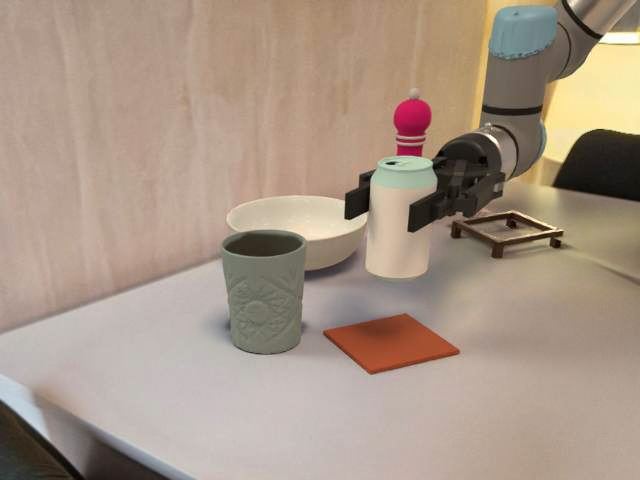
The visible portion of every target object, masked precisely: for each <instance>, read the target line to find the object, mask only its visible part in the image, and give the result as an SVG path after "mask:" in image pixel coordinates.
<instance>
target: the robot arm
mask: <svg viewBox="0 0 640 480" xmlns="http://www.w3.org/2000/svg"><path fill="white" fill-rule="evenodd" d="M637 1H638V0H557V1H556V2H555V3H554V5H552V6H551V5H544V4H543V5H541V4H538V5H537V4H526V5H525V4H524V5H521V4H520V5H512V6H511V5H510V6H505V7H502V8H500V9H499V10H497V12H496V13H495V15H494V18H493V22H492V27H491V32H490V37H489V39H488V43H487V48H488V54H487V61H486V69H485V78H484V85H483V87H484V88H483V94H482V103H481V108H480V109H481V110H480V117H479V125H478V128H476V129H474V130H472V131H469V132H467V133H464V134H462V135H460V136H457V137H455V138H453V139H450V140H448V141H447V142H445V143H444V145H442V146H441V148H440V149H439V150H438V152H437V153H436V155H435V156H434V157H433V158H432V159H430V160H431V161H432V162H433V166H432V169H433V171H434V173H435V175H436V177H437V188H436V191H435V192H434V193H432V194H430V195H428V196H426V197H424V198H422V199H420V200H418V201H416V202H414V203H412V204H410V207H409V217H408V228H407V232H411V233H414V232H416V231H418V230H420V229H421V228H423V227H425V226H427V225H428V224H430V223H432V222H433V223H434V222H436V221H437V220H442V219H444V218H446V217H455V216H456V215H457V213H462V214H461V216H462V217H463V218H465V219H466V218H472V217H475V216H476V215H477V214H479V212H480V211H482V209H484V208H485V207H486V206H488V204H489V203H490V202H492V201H494V200H496V199H499V198H502V197H503V195H504V189H505V185H506V183H507V182H509V181H511V180H512V179H514V178H518V177H519V176H521V175H523V174H524V173H527V172H528V171H529V170H530V169H531V168H532V167H533V166H534V165H535V164H537V162H538V161H539V160H540V159H541V157H542V156H543V154H544V152H545V149H546V147H547V142H548V134H547V129H546V126H545V123H544V122H543V120H542V113H543V107H544V101H545V95H546V90H547V85H548V84H550V83H553V82H556V81H558V80H559V81H560V80H564V79H565V78H568V77H570V76H571V75H573V74H575V72H576V71H578V70H579V69H580V68H581V67H582V66H583V65H584V64H585V63H586V62H587V60H588V59H589V57H590V55H591V53H592V51H593V49H594V48H595V47H596V46H597V45H598V44H599V43H600V42H601V40H602V39H603V38H604V37H605V35H606V34H607V33H609V31H610V30H611V29H612V28H613V27H614V26H615V25H616V23H618V21H620V19H621V18H623V16H624V15H625V14H626V13H627V12H628V11H629V10H630V9H631V8H632V6H634V4H636V2H637ZM376 169H377V168H375V169H372V170H368V171H365V172H362V173H360V174H359V175H358V187H356V188H354V189H352V190H349V191H348V192H345V194H344V201H345V211H344V219H345V220H352V219H354V218H356V217H358V216H360V215H362V214H364V213H366V214H367V213H369V201H370V185H371V177H372V175H373V174H374V172H375V171H376ZM433 223H432V224H433Z"/></svg>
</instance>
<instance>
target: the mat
mask: <svg viewBox="0 0 640 480" xmlns="http://www.w3.org/2000/svg"><path fill="white" fill-rule="evenodd" d="M322 334H323V335H324V336H325V337H326V338H327V339H328V340H330V341H331V342H332V343H333V344H334V345H335V346H337V347H338V348H339V349H340V350H342V352H344V353H345V354H346V355H347V356H349V358H351V359H352V360H353V361H354V362H356V364H358V365H359V366H360V367H361V368H362V369H364V370H365V371H366V372H367V373H368V374H370V375H372V374H377V373H381V372H386V371H389V370H395V369H399V368H403V367H407V366H412V365H417V364H420V363H424V362H429V361H433V360H436V359H443V358H446V357H450V356H455V355H458V354H460V350H461V349H460V348H458V347H456V346H455V345H453V344H452V343H450V342H449V341H447V339H445V338H444V337H442V336H441V335H438V334H437V333H436V332H435V331H433V330H432V329H430V328H429V327H427V326H426V325H425V324H423V323H421V322H420V321H418V320H417V319H416V318H414V317H413V316H411V315H410V314H408V313H407V312H404V313H399V314H396V315H391V316H385V317H380V318H376V319H371V320H367V321H363V322H362V321H361V322H358V323H352V324H348V325H343V326H337V327H333V328H329V329H323V333H322Z"/></svg>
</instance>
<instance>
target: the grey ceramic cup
mask: <svg viewBox="0 0 640 480" xmlns="http://www.w3.org/2000/svg"><path fill="white" fill-rule="evenodd" d="M219 249H220V258H221V262H222V269H223V278H224V281H225V282H224V283H225V288H226V293H227V304H228V310H229V311H228V312H229V316H230V331H231V340H232V343H233V342H234V343H233V345H234V344H235V345H236V346H235V345H234V346H235V347H236V348H237V347H239V348H241V349H243V350H242V351H244V350H245V351H244V352H246V351H250V352H254V353H253V354H255V353H261V354H260V355H272V354H271V353H275V354H280V353H279V352H281V353H284V352H283V351H285V352H287V351H290V350H292V349H294V348H295V347H297V345H298V344H300V341H301V338H302V319H303V298H304V291H305V290H304V289H305V272H306V271H305V261H306V249H307V241H306V239H305V238H304V237H303V236H301V235H300V234H297V233H294V232H290V231H284V230H271V229H267V230H251V231H245V232H240V233H236V234H233V235H231V236H230V235H229V236H227V237H225V238H223V240H222V241H221V242H220V244H219ZM293 347H294V348H293ZM239 348H238V349H239ZM291 348H292V349H291ZM241 349H240V350H241ZM250 352H249V353H250Z"/></svg>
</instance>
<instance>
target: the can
mask: <svg viewBox="0 0 640 480" xmlns="http://www.w3.org/2000/svg"><path fill="white" fill-rule="evenodd" d="M431 160H432V159H429V158H426V157H423V156H422V157H416V156H397V155H394V156H387V157H384V158H381V159H380V160H378V161H377V168H375V169H376V171H375V172H374V174H373V175H372V177H371V185H370V201H369V211H368V221H367V237H366V251H365V269H366V271H367V272H368V273H370V274H371V275H372V276H373V277H374V278H377V279H379V280H381V281H385V282H386V281H387V282H392V283H393V282H395V283H398V282H399V283H401V282H409V281H413V280H415V279H417V278H418V277H420V276H422V275H423V274H425V273H426V272H427V270H428V267H429V257H430V249H431V241H432V240H431V239H432V230H433V223H434V222H432V223H430V224H428V225H427V226H425V227H423V228H421V229H420V230H418V231H416V232H414V233H411V232H407V228H408V217H409V207H410V204H412V203H414V202H416V201H418V200H420V199H422V198H424V197H426V196H428V195H430V194H432V193H434V192H435V191H436V188H437V177H436V175H435V173H434V171H433V169H432V166H433V162H432V161H431Z"/></svg>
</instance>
